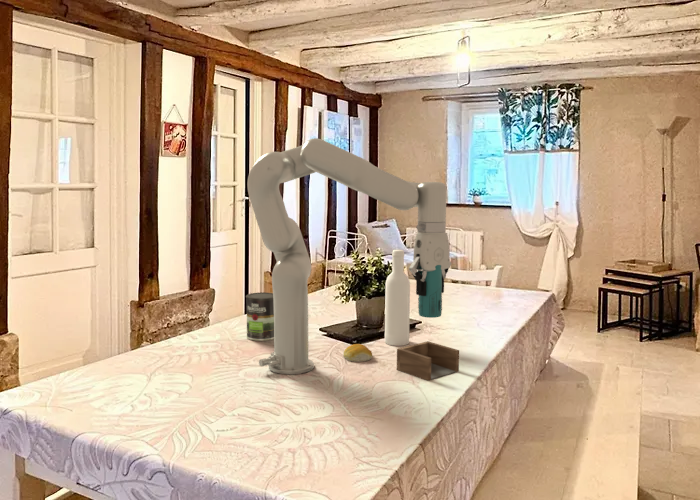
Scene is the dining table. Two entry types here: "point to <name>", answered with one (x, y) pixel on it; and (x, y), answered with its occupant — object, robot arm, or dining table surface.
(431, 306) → the beverage bottle
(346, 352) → the bread roll
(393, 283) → the bottle
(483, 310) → the dining table surface
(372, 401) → the dining table surface
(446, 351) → the u rest
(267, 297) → the coffee can
